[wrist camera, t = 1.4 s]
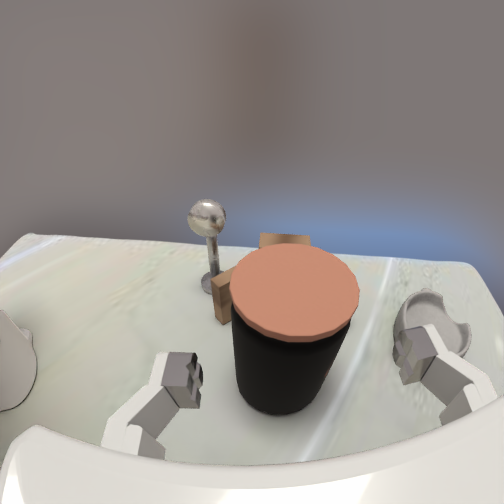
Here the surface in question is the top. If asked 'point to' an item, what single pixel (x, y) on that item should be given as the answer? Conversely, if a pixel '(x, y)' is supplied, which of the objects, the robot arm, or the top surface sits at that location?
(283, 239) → the wooden l-shaped bracket
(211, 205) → the metal ball stand
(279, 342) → the coffee jar
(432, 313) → the dish
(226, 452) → the top surface
